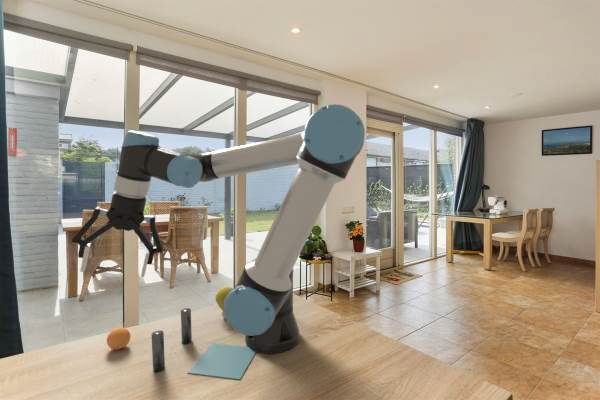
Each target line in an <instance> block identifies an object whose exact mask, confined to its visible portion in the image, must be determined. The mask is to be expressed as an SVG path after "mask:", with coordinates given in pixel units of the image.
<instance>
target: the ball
mask: <svg viewBox="0 0 600 400" xmlns="http://www.w3.org/2000/svg"><path fill="white" fill-rule="evenodd" d="M130 341H131V333H130V331H129V329H128V328H126V327H116V328H113V329H112V330H111V331H110V332H109V333H108V335H107V338H106V343H107V347H109V348H110V349H111V350H122V349H123V348H125V347H126V346H128V344H129V343H130Z"/></svg>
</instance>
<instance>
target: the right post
mask: <svg viewBox="0 0 600 400" xmlns="http://www.w3.org/2000/svg"><path fill="white" fill-rule="evenodd" d="M180 324H181V325H180V326H181V328H180V329H181V343H182V344H183V345H187V344H191V342H193V340H192V339H193V338H192V337H193V334H192V331H193V330H192V309H191V308H187V307H186V308H182V309H181V310H180Z"/></svg>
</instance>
